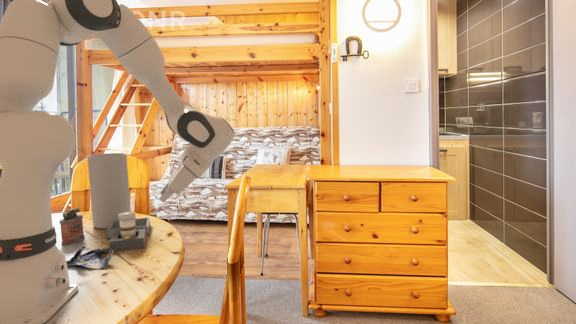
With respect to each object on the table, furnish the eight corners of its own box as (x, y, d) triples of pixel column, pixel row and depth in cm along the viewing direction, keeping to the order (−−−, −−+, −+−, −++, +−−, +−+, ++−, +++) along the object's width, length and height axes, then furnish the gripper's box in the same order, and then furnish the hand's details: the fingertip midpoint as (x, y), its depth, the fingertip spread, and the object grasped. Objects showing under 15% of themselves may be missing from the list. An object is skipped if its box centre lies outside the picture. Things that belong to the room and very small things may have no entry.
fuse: (136, 246, 114) (134, 214, 113) (119, 248, 112) (117, 216, 111) (137, 241, 118) (135, 211, 117) (121, 243, 117) (119, 212, 116)
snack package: (66, 279, 92) (118, 266, 98) (62, 252, 92) (115, 241, 98) (63, 272, 102) (111, 260, 108) (60, 247, 102) (108, 237, 108)
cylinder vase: (136, 224, 138) (131, 154, 135) (99, 231, 130) (93, 157, 127) (124, 218, 147) (119, 152, 145) (88, 224, 139) (82, 155, 136)
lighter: (68, 245, 116) (65, 213, 115) (58, 245, 116) (55, 212, 115) (87, 237, 124) (84, 206, 122) (78, 237, 124) (75, 206, 123)
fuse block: (144, 248, 112) (143, 236, 111) (110, 251, 109) (109, 239, 109) (146, 238, 121) (145, 226, 121) (115, 241, 119) (114, 230, 118)
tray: (148, 235, 124) (147, 226, 124) (107, 239, 121) (106, 230, 121) (150, 225, 136) (149, 217, 135) (113, 229, 132) (112, 220, 132)
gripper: (184, 153, 127) (154, 185, 126) (186, 159, 108) (151, 197, 106) (198, 166, 129) (169, 197, 127) (203, 174, 109) (169, 211, 108)
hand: (161, 197), depth 117 cm, fingers open, 8 cm apart
